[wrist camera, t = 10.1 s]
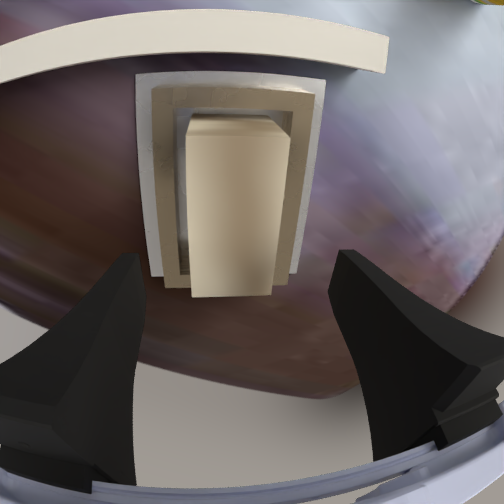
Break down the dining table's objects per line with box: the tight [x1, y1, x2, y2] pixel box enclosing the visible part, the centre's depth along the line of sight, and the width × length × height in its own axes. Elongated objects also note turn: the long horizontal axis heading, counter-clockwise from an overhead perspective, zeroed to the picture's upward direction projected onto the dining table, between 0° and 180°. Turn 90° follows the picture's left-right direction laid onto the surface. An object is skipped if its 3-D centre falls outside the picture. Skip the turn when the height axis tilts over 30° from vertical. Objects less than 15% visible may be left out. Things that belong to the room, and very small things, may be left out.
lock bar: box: [186, 114, 291, 297], centre depth 16 cm, size 4×8×5 cm, turn 176°
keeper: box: [136, 71, 326, 288], centre depth 17 cm, size 10×13×2 cm
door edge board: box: [0, 9, 389, 84], centre depth 12 cm, size 20×2×3 cm, turn 86°
